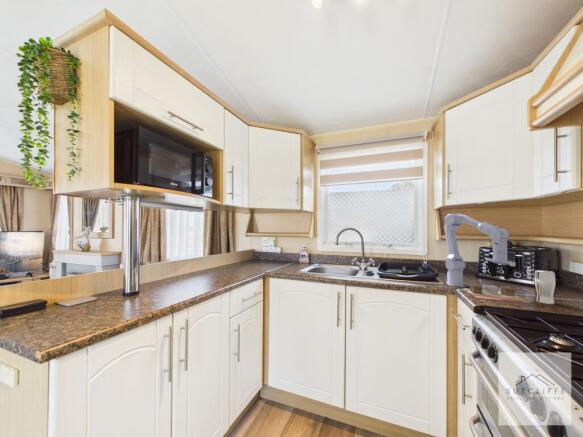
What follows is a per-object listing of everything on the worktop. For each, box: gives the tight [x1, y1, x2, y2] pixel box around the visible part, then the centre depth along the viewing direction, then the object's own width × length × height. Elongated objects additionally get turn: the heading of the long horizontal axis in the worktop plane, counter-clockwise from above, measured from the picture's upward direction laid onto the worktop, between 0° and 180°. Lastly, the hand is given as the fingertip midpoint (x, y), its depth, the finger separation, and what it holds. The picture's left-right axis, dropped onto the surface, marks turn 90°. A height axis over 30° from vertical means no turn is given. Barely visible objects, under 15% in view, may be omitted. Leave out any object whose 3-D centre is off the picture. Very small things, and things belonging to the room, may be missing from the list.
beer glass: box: [533, 269, 556, 305], centre depth 115 cm, size 7×7×15 cm
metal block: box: [484, 284, 499, 295], centre depth 128 cm, size 4×4×4 cm
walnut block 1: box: [469, 283, 483, 294], centre depth 130 cm, size 4×4×4 cm
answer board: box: [462, 287, 530, 303], centre depth 127 cm, size 20×22×1 cm
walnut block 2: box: [500, 285, 516, 296], centre depth 126 cm, size 4×4×4 cm
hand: (500, 277), depth 125 cm, fingers open, 7 cm apart
